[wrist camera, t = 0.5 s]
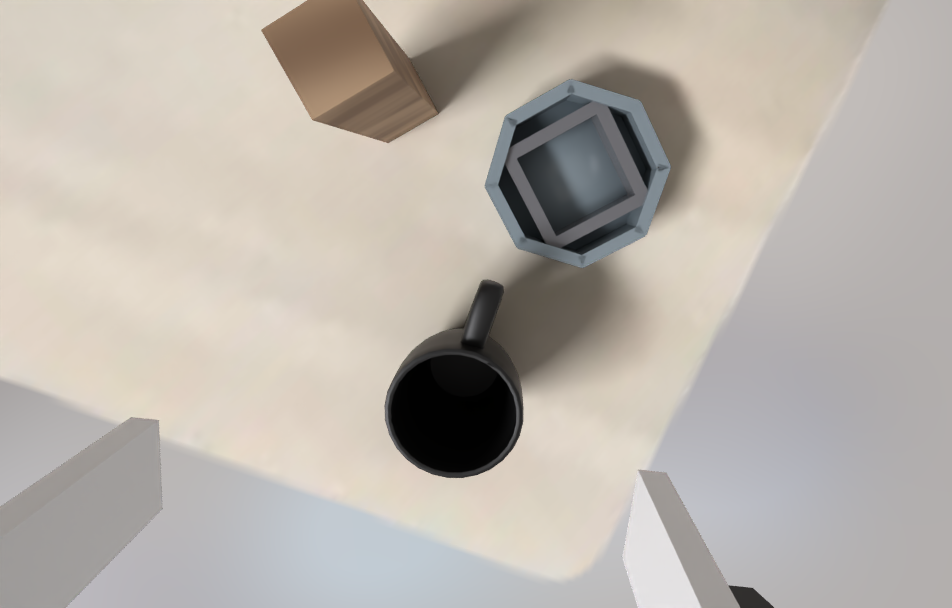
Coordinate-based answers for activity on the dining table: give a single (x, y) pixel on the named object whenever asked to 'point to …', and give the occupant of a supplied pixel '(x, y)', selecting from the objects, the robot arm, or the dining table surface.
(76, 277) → the dining table surface
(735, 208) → the dining table surface
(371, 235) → the dining table surface
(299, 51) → the wooden post
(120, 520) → the robot arm
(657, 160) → the octagonal peg hole ring
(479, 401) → the mug
